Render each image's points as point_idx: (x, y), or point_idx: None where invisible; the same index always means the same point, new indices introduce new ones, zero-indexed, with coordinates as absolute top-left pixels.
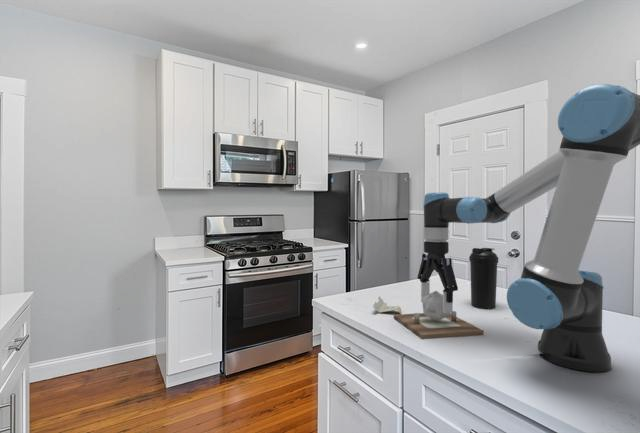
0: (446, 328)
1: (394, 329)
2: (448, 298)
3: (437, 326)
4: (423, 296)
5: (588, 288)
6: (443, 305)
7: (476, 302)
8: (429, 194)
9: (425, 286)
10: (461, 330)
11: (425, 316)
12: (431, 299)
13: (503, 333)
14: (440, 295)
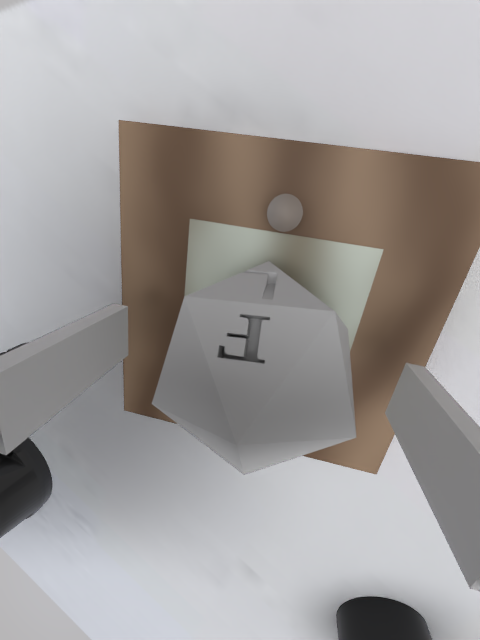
0: (173, 304)
1: (302, 42)
2: (1, 354)
3: (202, 282)
4: (421, 398)
5: None
6: (91, 320)
7: (386, 632)
8: None
9: (466, 496)
10: (138, 342)
11: (365, 340)
12: (202, 322)
13: (131, 457)
14: (194, 419)
